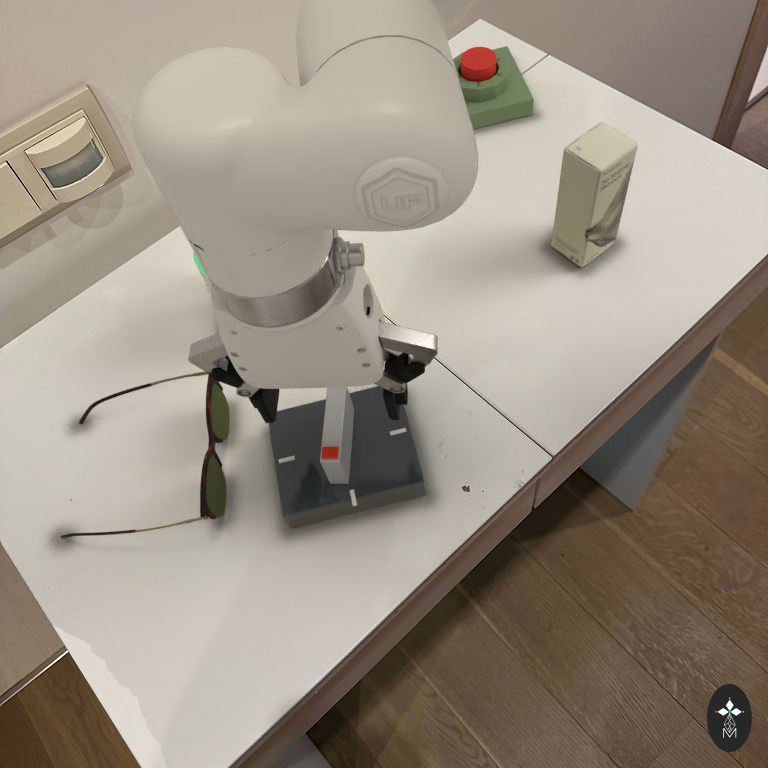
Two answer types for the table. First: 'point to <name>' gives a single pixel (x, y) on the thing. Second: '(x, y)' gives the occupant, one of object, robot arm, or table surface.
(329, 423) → the long grey beam
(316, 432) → the plate
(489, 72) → the button
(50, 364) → the table surface
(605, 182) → the box
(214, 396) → the sunglasses
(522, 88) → the button box
